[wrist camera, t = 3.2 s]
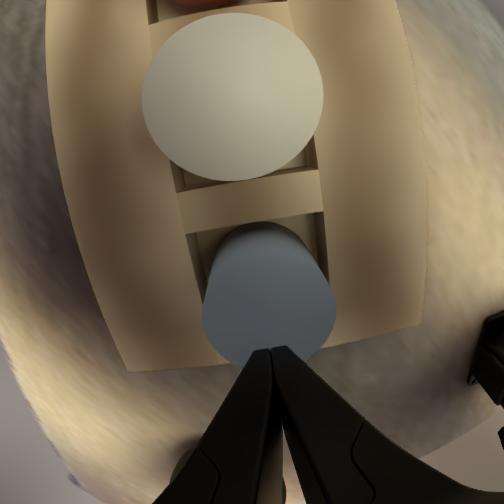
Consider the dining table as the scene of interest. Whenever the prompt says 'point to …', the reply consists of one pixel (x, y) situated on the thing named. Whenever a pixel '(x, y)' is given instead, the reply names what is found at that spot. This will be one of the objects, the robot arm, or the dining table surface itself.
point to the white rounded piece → (232, 96)
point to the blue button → (266, 295)
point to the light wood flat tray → (244, 191)
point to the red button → (203, 2)
